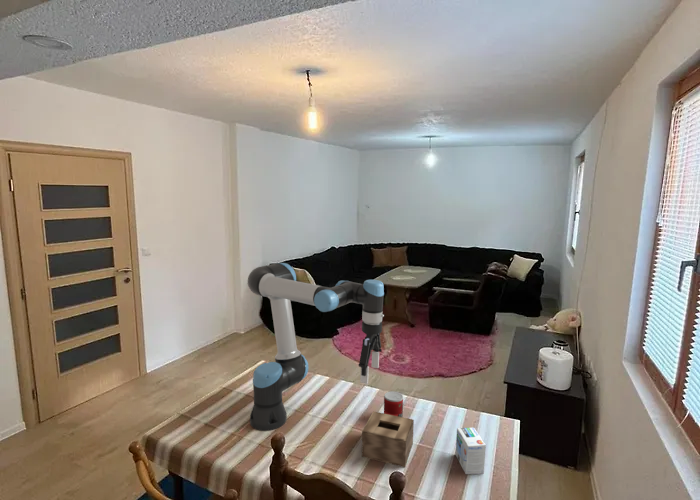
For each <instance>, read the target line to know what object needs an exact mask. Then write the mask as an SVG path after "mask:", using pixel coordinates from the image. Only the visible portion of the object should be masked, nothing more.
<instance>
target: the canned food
mask: <svg viewBox="0 0 700 500" xmlns="http://www.w3.org/2000/svg"><path fill="white" fill-rule="evenodd" d="M403 408H404V395H403V394H402V393H400V392H398V391H392V390H391V391H388V392H385V393H384V396H383V413H384V414H389V415H393V416H398V417H403V413H404V409H403ZM403 418H404V417H403Z"/></svg>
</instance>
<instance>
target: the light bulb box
mask: <svg viewBox="0 0 700 500" xmlns="http://www.w3.org/2000/svg"><path fill="white" fill-rule="evenodd" d="M455 440H456V442H455V456H456V458H457V460H458V462H459V464H460V466H461V468H462V471H463V472H464V473H465V475H478V474H479V475H482V474H484V473H485V461H486V460H485V459H486V447H487V446H486V445H487V444H486V443H485V442H484V441H483V439H482V437H481V435H480V434H479V433H478V431H477V430H476V428H475V427H460V428H459V427H457V428H456V439H455Z"/></svg>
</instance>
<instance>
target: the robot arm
mask: <svg viewBox="0 0 700 500" xmlns="http://www.w3.org/2000/svg"><path fill="white" fill-rule="evenodd" d="M247 286H248V289H249V290H250V292H252V293H253V294H255V295H257V296H259V297H264V298H265V297H266V298H268V299H269V301H270V307H271V314H272V320H273V322H272V323H273V328H274V335H275V341H276V343H275V344H276V348H277V351H276V352H277V353H276V355H275V356H274V361H268V362H263V363H262V364H260V365H258V366H256V368H255V369H254V371H253V374H252V375H253V377H252V385H253V388H252V389H253V390H252V391H253V406H252V408H251V409H252V410H251V413H250V415H249V425H250V426H251V427H252V428H253V429H255V430H257V431H272V430H276V429H279V428H280V427H282V426H283V425H284V424H285V423H287V422H286V421H287V420H288V418H287V414H288V413H287V411H286V408H285V405H284V402H283V392H285V390H287V389H289V388H291V387H293V386H294V385H296V384H299V383H300V382H302V380H304V379H305V378H307V375H308V373H309V362H308V360H307V359H306V356H305V355H303V354H302V352H301V350H299V349H298V347H297V339H296V331H295V330H296V329H295V325H294V316H293V309H292V303H291V302H298V303H301V304H306V305H310V306H315V308H316V309H318V310H319V311H320V312H321V313H327V312H332V311H334V310H335V309H337V308H340V307H343V306H345V305H347V304H349V303H355V304H359V305H362V312H361V313H362V314H361V316H362V317H361V318H362V319H361V320H362V321H361V331H362V333H364V334H365V337H364V338H363V339H362V346H361V351H360V352H361V353H360V357H359V358H360V359H359V362H358V364H357V365H358V367H359V368H360V381H359V383H361V384H366V385H367V384H369V368H370V367H369V362H370V358H371V368H373V369H379V366H380V365H379V363H380V353H381V352H382V343H381V333H382V332H383V323H382V322H383V318H384V317H385V314H383V312H384V311H383V310H384V309H383V308H384V306H383V305H384V296H385V292H384V290H385V288H384V283H383V282H382V281H381V280H379V279H366V280H364V282H363V283H360V282H359V283H358V282H353V281H349V280H339V281H338V282H337V283H336V284H335V286H332V287H328V286H322V285H319V284H313V283H309V282H303V281H297V274H296V271H295V270H294V268H293V267H292V266H291V265H290V264H289V263H286V262H276V263H272V264H267V265H264V266H262V265H261V266H258V267H255V268H254V269H253V270H252V271H250V273H249V275H248V277H247Z"/></svg>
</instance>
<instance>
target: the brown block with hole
mask: <svg viewBox="0 0 700 500" xmlns="http://www.w3.org/2000/svg"><path fill="white" fill-rule="evenodd" d="M414 421H415V420H414V419H412V418H408V417H407V418H406V417H398V416H393V415H389V414H384V412H383V413H382V412H378V411H372V412H371V415H370V416H369V418H368V420H367V421H366V424H365V425H364V428H363V429H362V430H361V457H362V458H366V459H369V460H373V461H377V462H381V463H382V462H383V463H386V464H389V465H394V466H398V467H402V468H406V466H407V463H408V459H409V457H410V453H411V452H412V449H413V448H412V447H413V444H414Z"/></svg>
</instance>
